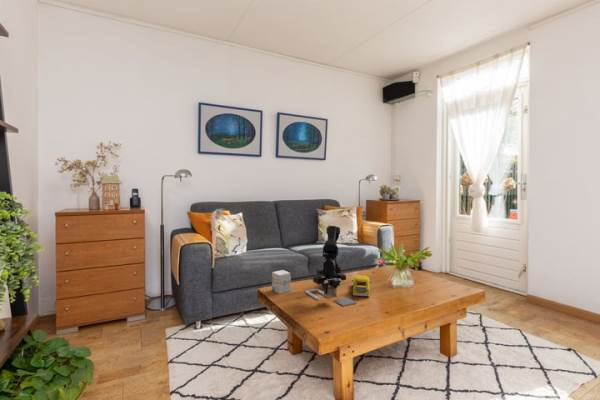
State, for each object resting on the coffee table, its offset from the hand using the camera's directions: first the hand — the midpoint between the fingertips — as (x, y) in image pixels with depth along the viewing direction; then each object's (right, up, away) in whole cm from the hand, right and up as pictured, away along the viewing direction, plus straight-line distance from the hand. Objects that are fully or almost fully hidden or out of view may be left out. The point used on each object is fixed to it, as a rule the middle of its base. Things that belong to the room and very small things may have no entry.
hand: (329, 293), depth 177 cm
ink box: (-28, -4, +19) cm, 34 cm away
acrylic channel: (-6, -4, +12) cm, 14 cm away
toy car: (+22, -5, +20) cm, 30 cm away
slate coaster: (+9, -5, +1) cm, 10 cm away
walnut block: (0, -1, 0) cm, 1 cm away
